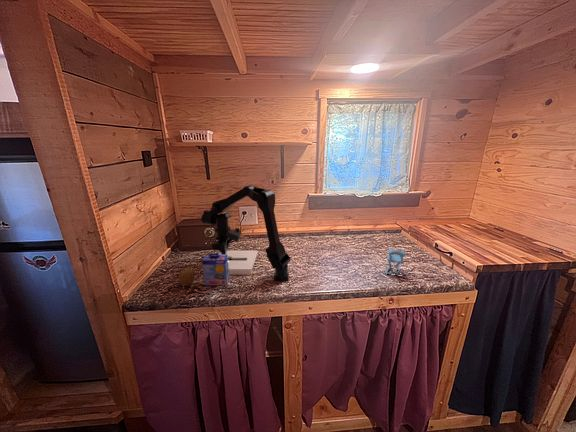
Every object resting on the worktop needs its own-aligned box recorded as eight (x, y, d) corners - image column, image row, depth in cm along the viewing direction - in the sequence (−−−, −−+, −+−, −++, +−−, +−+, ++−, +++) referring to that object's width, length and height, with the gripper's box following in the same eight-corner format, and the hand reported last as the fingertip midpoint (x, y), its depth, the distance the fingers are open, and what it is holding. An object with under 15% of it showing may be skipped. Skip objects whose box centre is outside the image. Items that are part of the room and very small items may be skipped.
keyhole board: (251, 274, 106) (251, 269, 105) (208, 274, 106) (208, 268, 106) (258, 255, 125) (257, 250, 124) (221, 255, 126) (221, 250, 125)
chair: (401, 268, 111) (404, 246, 108) (403, 277, 103) (407, 253, 100) (384, 266, 113) (387, 243, 110) (385, 274, 106) (388, 250, 103)
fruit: (197, 281, 101) (195, 265, 99) (191, 289, 95) (189, 272, 93) (184, 281, 101) (181, 264, 99) (176, 289, 95) (174, 272, 93)
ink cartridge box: (204, 286, 97) (200, 255, 93) (207, 279, 103) (204, 249, 99) (227, 285, 98) (224, 254, 94) (229, 278, 103) (227, 248, 99)
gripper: (234, 232, 101) (236, 264, 105) (242, 220, 119) (244, 247, 123) (209, 232, 101) (212, 264, 106) (221, 220, 119) (224, 247, 124)
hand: (225, 255), depth 115 cm, fingers closed
